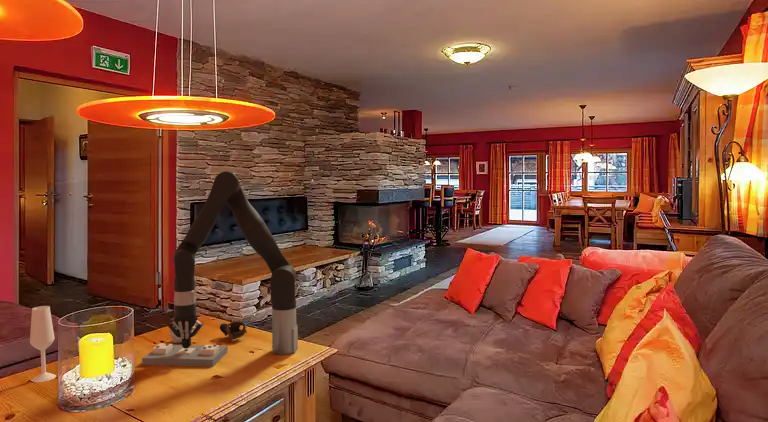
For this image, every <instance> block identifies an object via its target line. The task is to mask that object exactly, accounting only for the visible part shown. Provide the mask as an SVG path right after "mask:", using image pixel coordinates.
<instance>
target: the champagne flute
mask: <svg viewBox="0 0 768 422" xmlns="http://www.w3.org/2000/svg"><path fill="white" fill-rule="evenodd" d="M30 319H31V320H30V335H29V344H30V345H31V346H32V347H33V348H34V349H36V350H39V351H40V365H41V366H40V367H41V373H38V375H36V376H35V377H33V378H32V379H31V382H33V383H43V382H48V381H50V380H53V379H55V378H56V377H57V375H56V374H54V373H50V372H47V368H46V367H47V366H46V350H47V349H48V348H49V347H50V346H51V345H52V344H53V343H54V341H55V331H54V325H53V319H52V313H51V306H50V305H43V306H42V305H40V306H35V307H32V308H31V318H30Z"/></svg>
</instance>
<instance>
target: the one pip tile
mask: <svg viewBox="0 0 768 422" xmlns="http://www.w3.org/2000/svg"><path fill="white" fill-rule="evenodd" d="M195 351H196V348H188V349H187V348H182V349H181V350H179V351H178V352H177V355H191V354H192V353H194V352H195Z"/></svg>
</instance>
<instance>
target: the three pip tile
mask: <svg viewBox="0 0 768 422" xmlns="http://www.w3.org/2000/svg"><path fill="white" fill-rule="evenodd" d="M219 346H220V344H205V346H204V347H203V348H201V349H200V350H201V355H216V354H217V353H218V352H219Z"/></svg>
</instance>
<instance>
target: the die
mask: <svg viewBox="0 0 768 422" xmlns="http://www.w3.org/2000/svg"><path fill="white" fill-rule="evenodd" d="M177 327H178V326H177ZM178 328H179V327H178ZM193 331H194V330H193ZM193 331H192V332H193ZM169 335H170V337H171V339H172V342H173V343H174V344H178V343H179V344H182V338H180V337H176V335H175V334H174V333H173V332H172V330H171V329H170V331H169Z"/></svg>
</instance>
